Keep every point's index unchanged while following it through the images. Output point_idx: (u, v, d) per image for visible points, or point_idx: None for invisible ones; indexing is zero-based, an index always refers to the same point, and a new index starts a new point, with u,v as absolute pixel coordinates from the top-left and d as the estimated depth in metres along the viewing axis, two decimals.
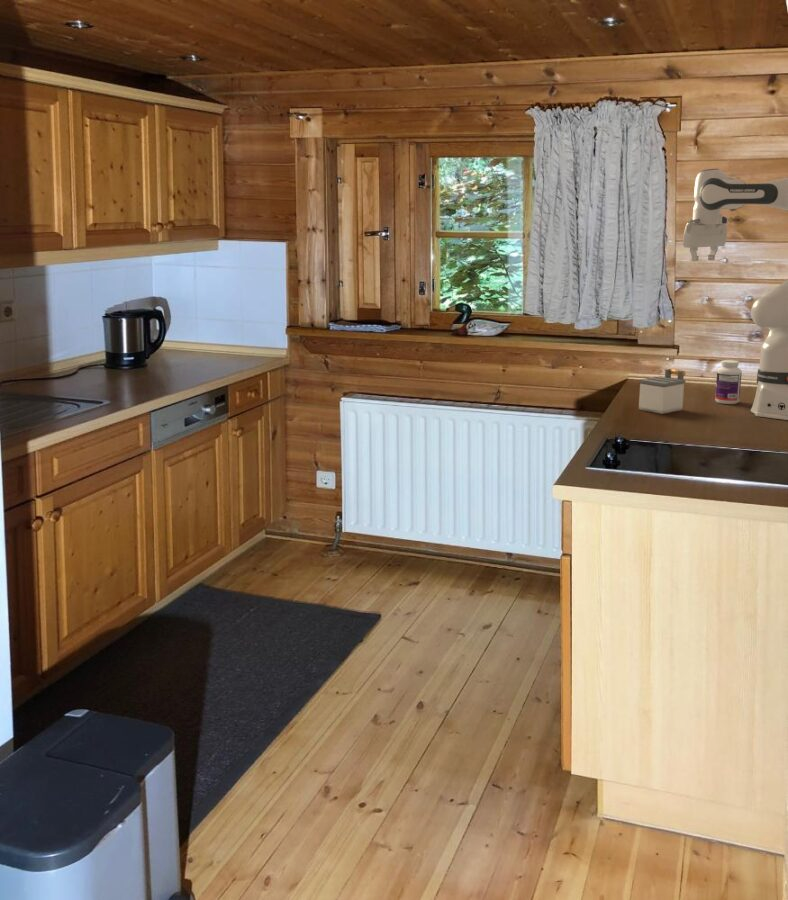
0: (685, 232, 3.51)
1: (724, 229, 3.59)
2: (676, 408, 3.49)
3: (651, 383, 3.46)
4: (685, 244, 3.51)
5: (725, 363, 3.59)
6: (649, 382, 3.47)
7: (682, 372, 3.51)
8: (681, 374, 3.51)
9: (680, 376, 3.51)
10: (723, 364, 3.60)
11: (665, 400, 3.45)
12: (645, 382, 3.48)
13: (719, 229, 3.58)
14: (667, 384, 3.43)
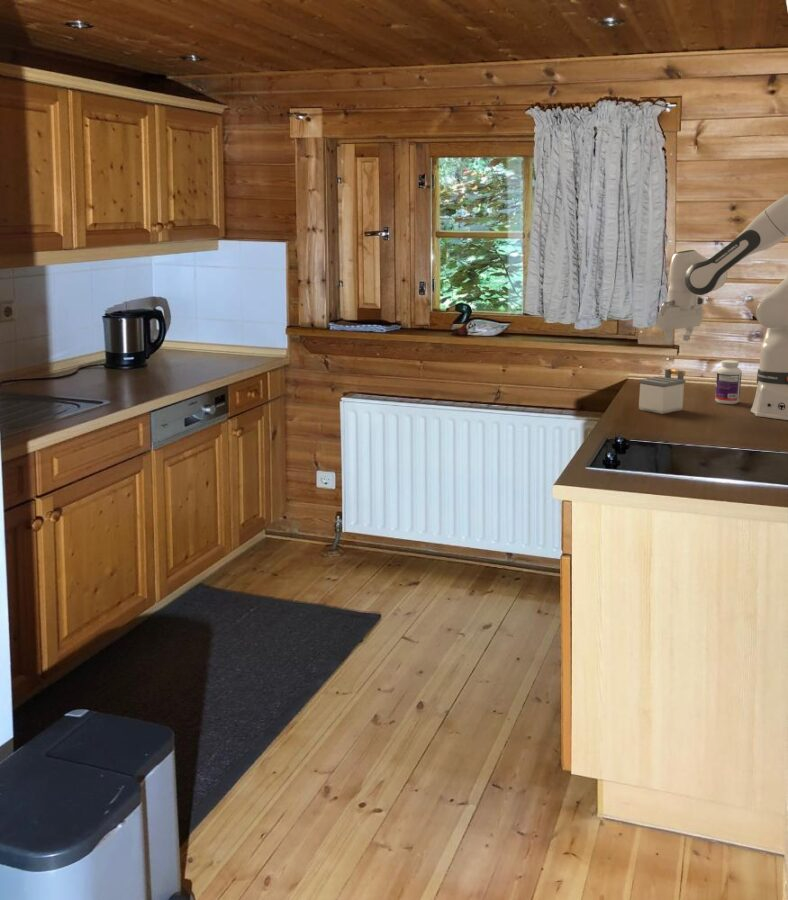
0: (659, 314, 3.44)
1: (700, 309, 3.52)
2: (676, 408, 3.49)
3: (651, 383, 3.46)
4: (659, 326, 3.44)
5: (725, 363, 3.59)
6: (649, 382, 3.47)
7: (682, 372, 3.51)
8: (681, 374, 3.51)
9: (680, 376, 3.51)
10: (723, 364, 3.60)
11: (665, 400, 3.45)
12: (645, 382, 3.48)
13: (695, 309, 3.51)
14: (667, 384, 3.43)
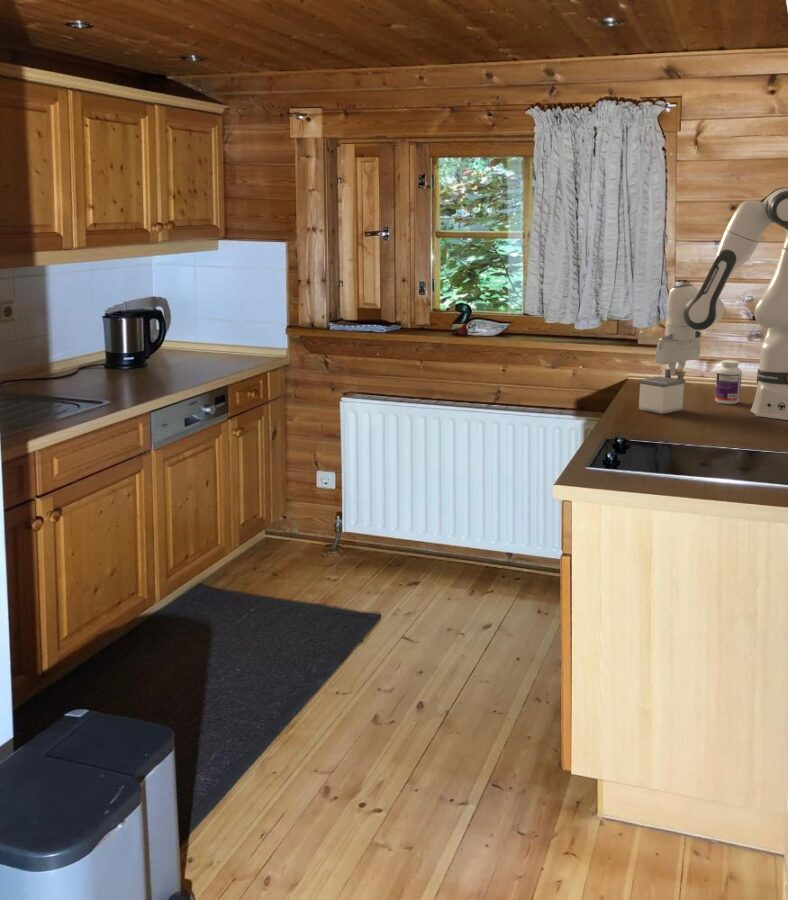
0: (657, 348, 3.46)
1: (698, 343, 3.55)
2: (676, 408, 3.49)
3: (651, 383, 3.46)
4: (657, 360, 3.47)
5: (725, 363, 3.59)
6: (649, 382, 3.47)
7: (682, 372, 3.51)
8: (681, 374, 3.51)
9: (680, 376, 3.51)
10: (723, 364, 3.60)
11: (665, 400, 3.45)
12: (645, 382, 3.48)
13: (693, 343, 3.54)
14: (667, 384, 3.43)
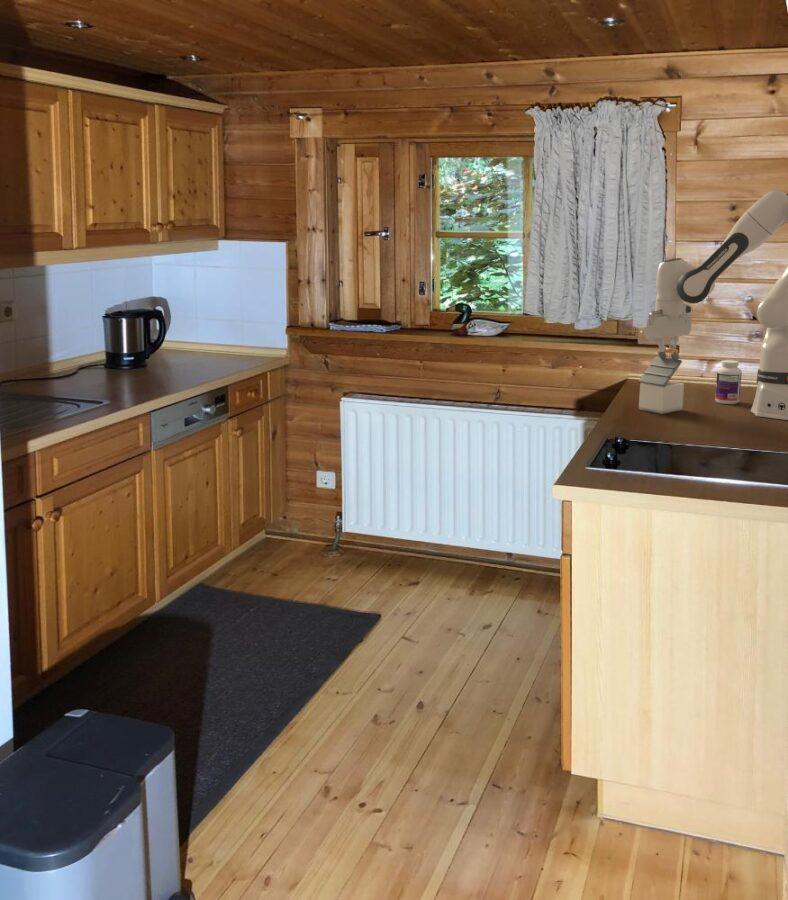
0: (647, 324, 3.41)
1: (688, 318, 3.49)
2: (676, 408, 3.49)
3: (651, 383, 3.46)
4: (648, 336, 3.41)
5: (725, 363, 3.59)
6: (648, 383, 3.47)
7: (674, 352, 3.46)
8: (674, 354, 3.46)
9: (674, 357, 3.47)
10: (723, 364, 3.60)
11: (665, 400, 3.45)
12: (644, 382, 3.48)
13: (683, 318, 3.48)
14: (666, 382, 3.43)
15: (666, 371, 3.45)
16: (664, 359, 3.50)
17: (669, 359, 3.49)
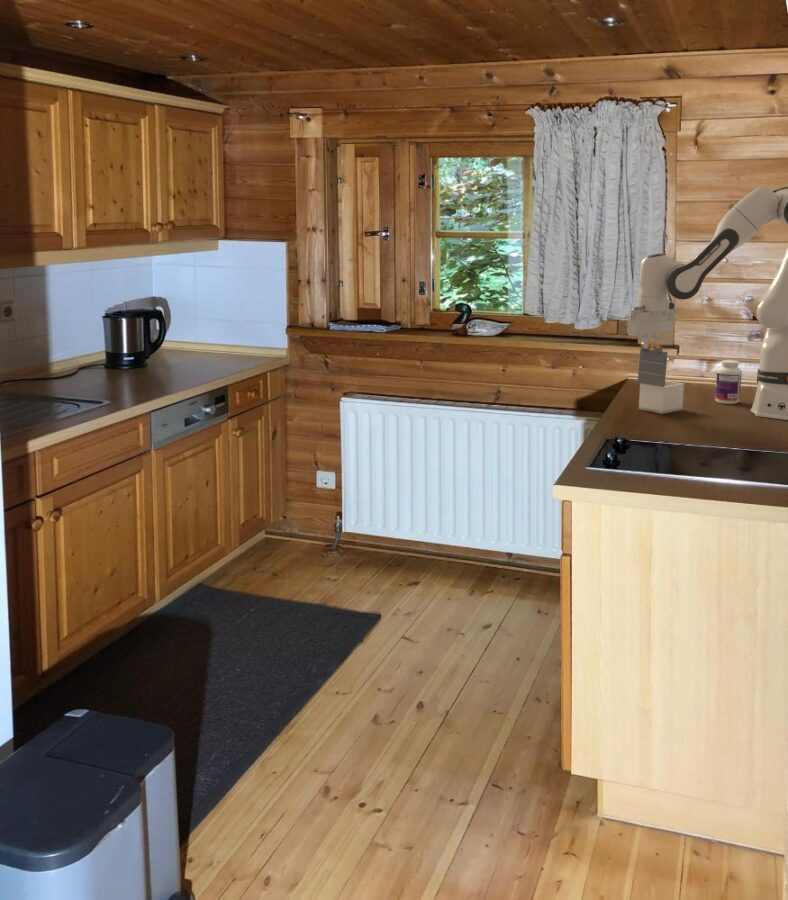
0: (629, 320, 3.34)
1: (672, 314, 3.43)
2: (676, 408, 3.49)
3: (650, 384, 3.46)
4: (629, 332, 3.35)
5: (725, 363, 3.59)
6: None
7: (656, 348, 3.39)
8: (657, 350, 3.40)
9: (658, 351, 3.40)
10: (723, 364, 3.60)
11: (665, 400, 3.45)
12: (644, 383, 3.48)
13: (667, 314, 3.42)
14: (663, 382, 3.42)
15: (658, 369, 3.42)
16: (650, 352, 3.44)
17: None
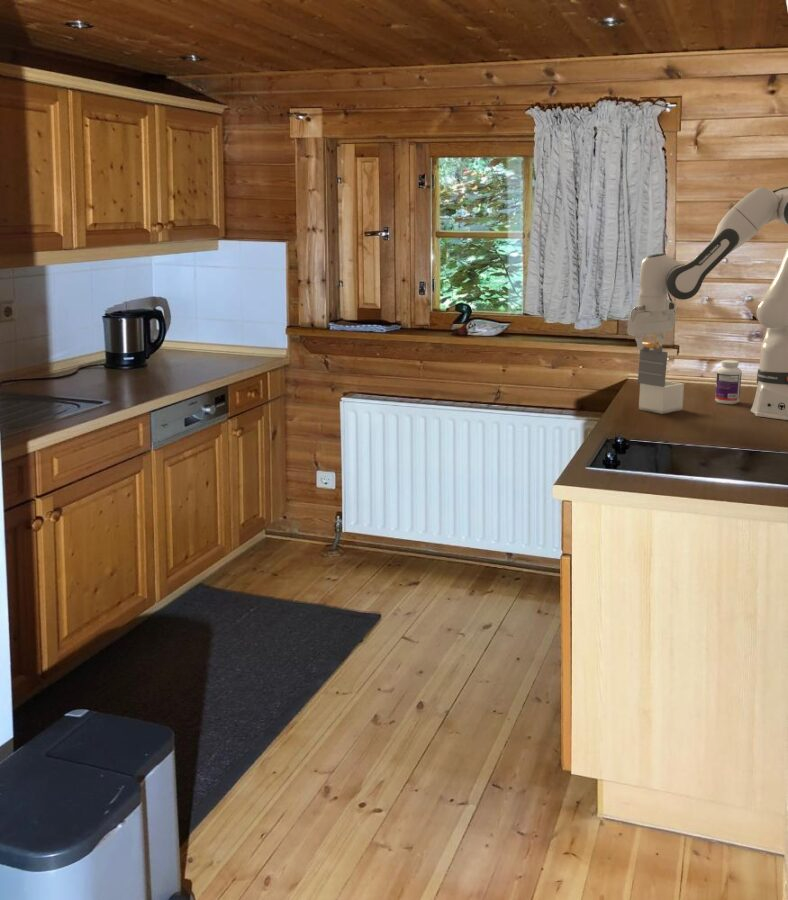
0: (629, 320, 3.34)
1: (672, 315, 3.43)
2: (676, 408, 3.49)
3: (650, 384, 3.46)
4: (629, 332, 3.35)
5: (725, 363, 3.59)
6: (648, 384, 3.47)
7: (656, 348, 3.39)
8: (657, 350, 3.40)
9: (658, 351, 3.40)
10: (723, 364, 3.60)
11: (665, 400, 3.45)
12: (644, 383, 3.48)
13: (667, 315, 3.42)
14: (663, 382, 3.42)
15: (658, 369, 3.42)
16: (650, 352, 3.44)
17: None
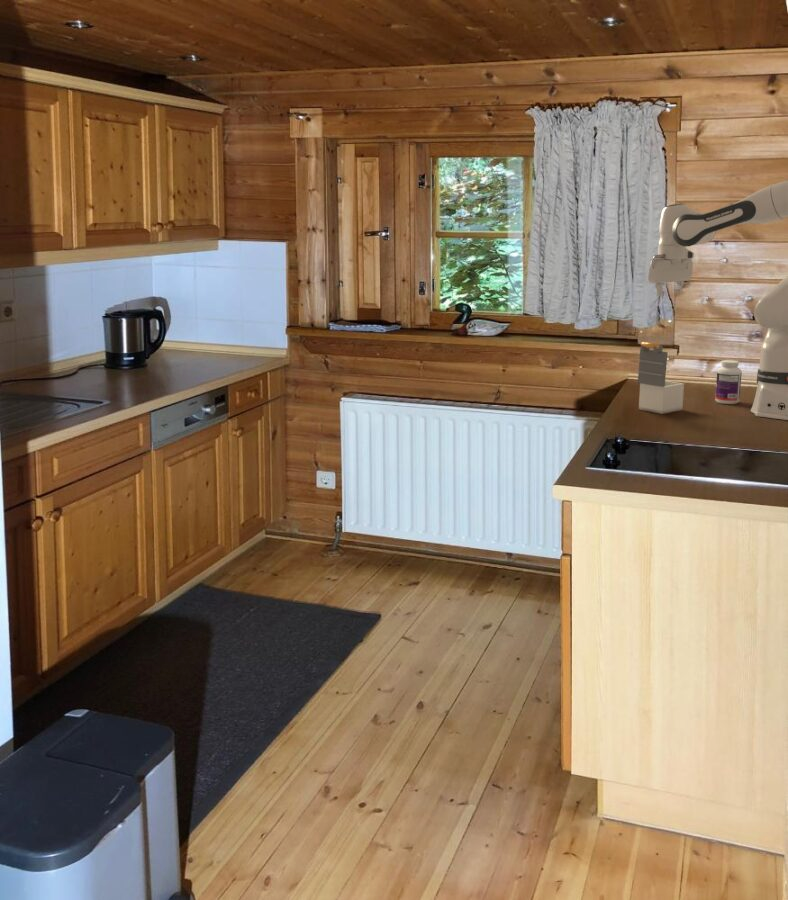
0: (650, 267, 3.47)
1: (690, 263, 3.56)
2: (676, 408, 3.49)
3: (650, 384, 3.46)
4: (650, 279, 3.48)
5: (725, 363, 3.59)
6: (648, 384, 3.47)
7: (656, 348, 3.39)
8: (657, 350, 3.40)
9: (658, 351, 3.40)
10: (723, 364, 3.60)
11: (665, 400, 3.45)
12: (644, 383, 3.48)
13: (685, 263, 3.55)
14: (663, 382, 3.42)
15: (658, 369, 3.42)
16: (650, 352, 3.44)
17: None
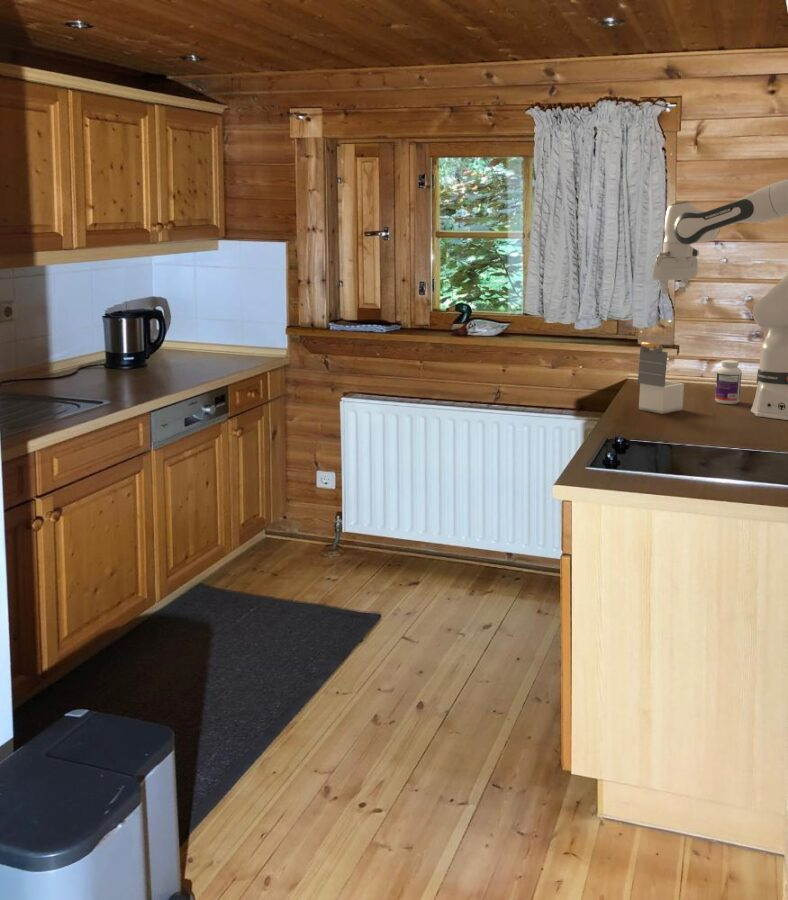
0: (655, 265, 3.52)
1: (695, 261, 3.61)
2: (676, 408, 3.49)
3: (650, 384, 3.46)
4: (655, 277, 3.53)
5: (725, 363, 3.59)
6: (648, 384, 3.47)
7: (656, 348, 3.39)
8: (657, 350, 3.40)
9: (658, 351, 3.40)
10: (723, 364, 3.60)
11: (665, 400, 3.45)
12: (644, 383, 3.48)
13: (690, 261, 3.59)
14: (663, 382, 3.42)
15: (658, 369, 3.42)
16: (650, 352, 3.44)
17: None
